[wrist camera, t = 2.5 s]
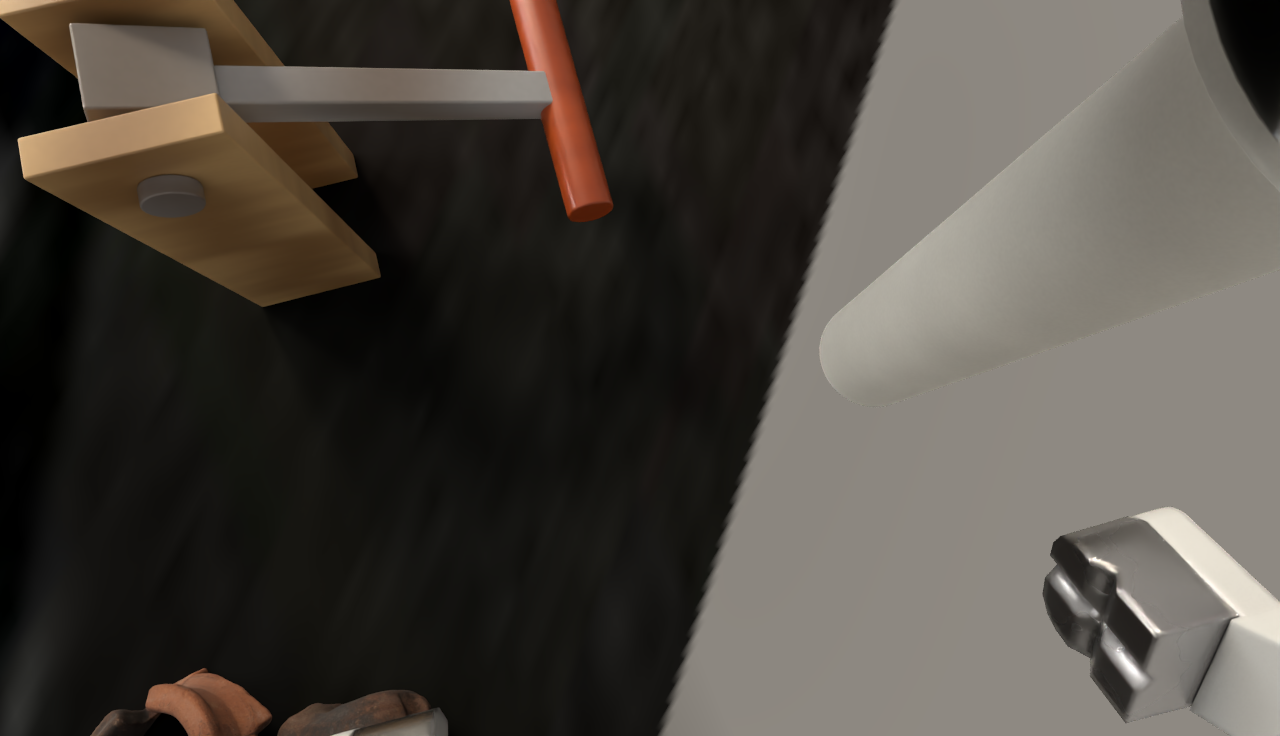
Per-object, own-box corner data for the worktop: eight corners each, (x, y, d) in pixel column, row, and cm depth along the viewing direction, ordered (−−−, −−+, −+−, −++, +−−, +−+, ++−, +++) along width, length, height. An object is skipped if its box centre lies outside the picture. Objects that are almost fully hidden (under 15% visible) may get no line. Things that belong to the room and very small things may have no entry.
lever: (536, 8, 27) (561, -42, 25) (597, 227, 26) (627, 194, 23) (69, -19, 21) (49, -89, 18) (119, 268, 19) (103, 228, 17)
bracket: (451, 109, 32) (329, -173, 19) (503, 315, 31) (412, 173, 17) (157, 179, 32) (-191, -63, 18) (197, 394, 30) (-147, 309, 17)
